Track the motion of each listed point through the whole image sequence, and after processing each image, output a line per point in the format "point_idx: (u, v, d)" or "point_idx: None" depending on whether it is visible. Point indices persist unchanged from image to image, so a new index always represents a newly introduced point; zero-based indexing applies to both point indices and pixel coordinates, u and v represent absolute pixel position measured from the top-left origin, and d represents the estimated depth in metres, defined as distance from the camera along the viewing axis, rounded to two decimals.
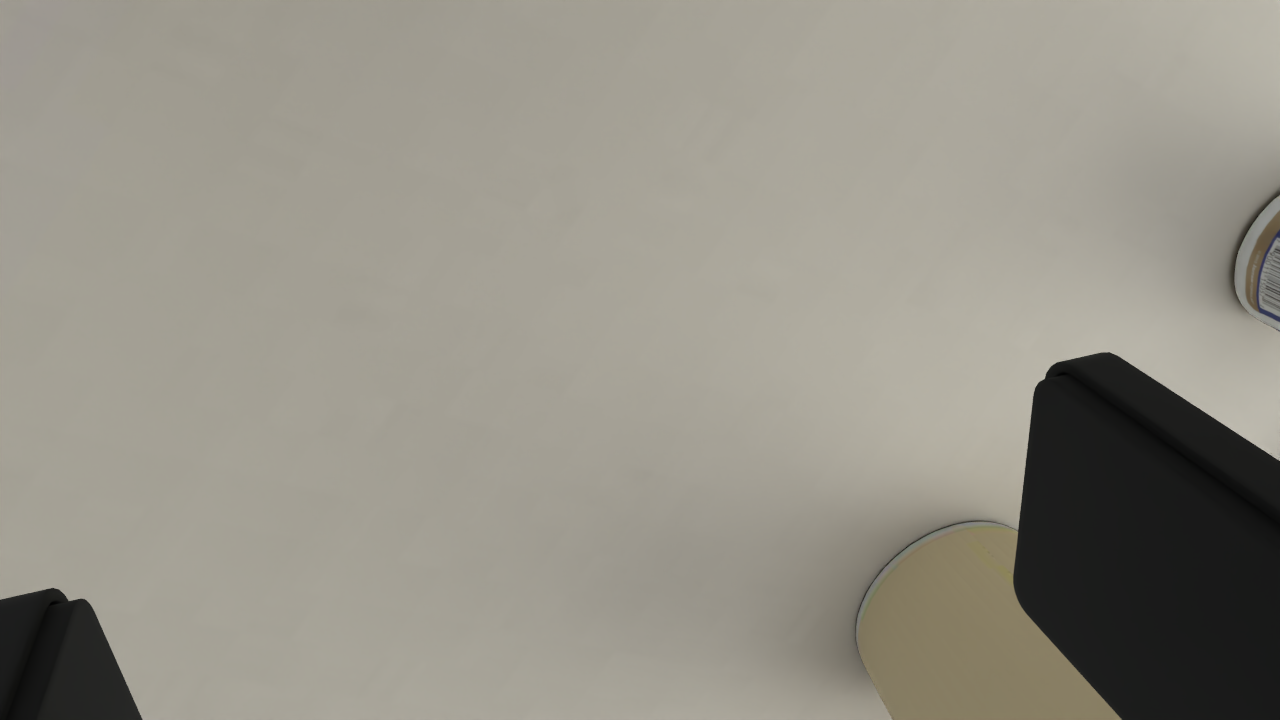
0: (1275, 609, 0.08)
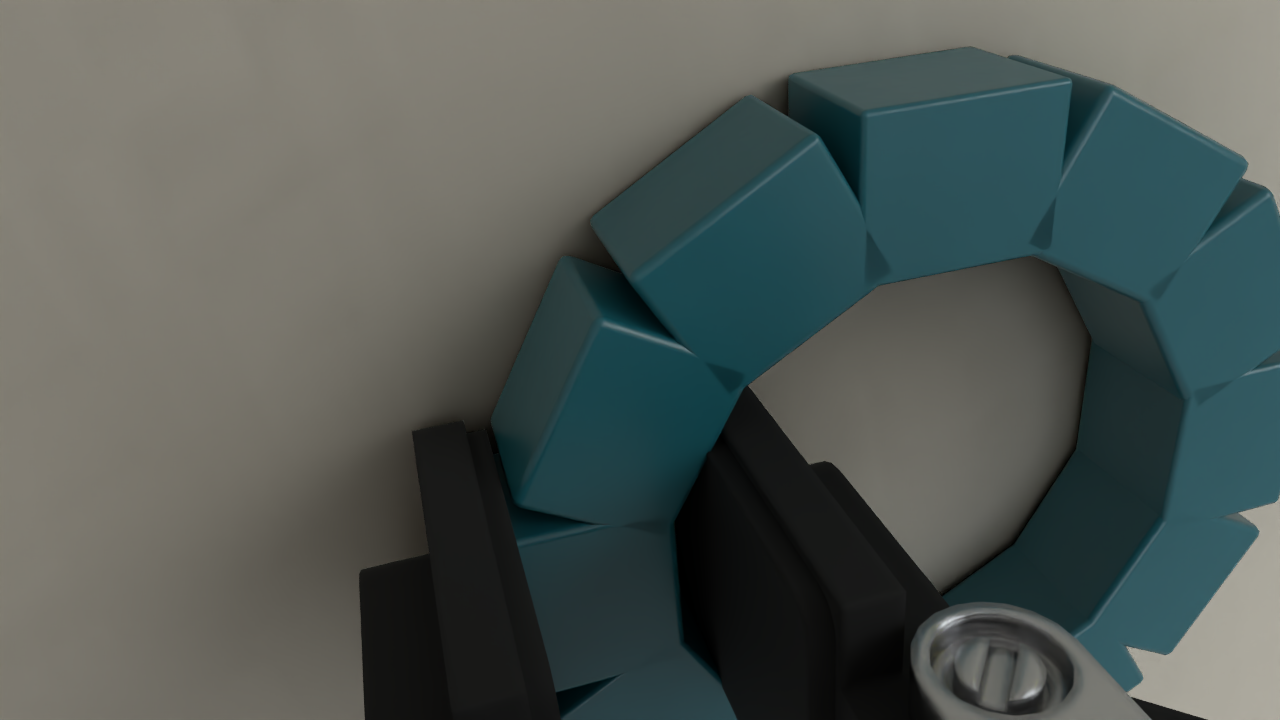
0: (777, 611, 0.08)
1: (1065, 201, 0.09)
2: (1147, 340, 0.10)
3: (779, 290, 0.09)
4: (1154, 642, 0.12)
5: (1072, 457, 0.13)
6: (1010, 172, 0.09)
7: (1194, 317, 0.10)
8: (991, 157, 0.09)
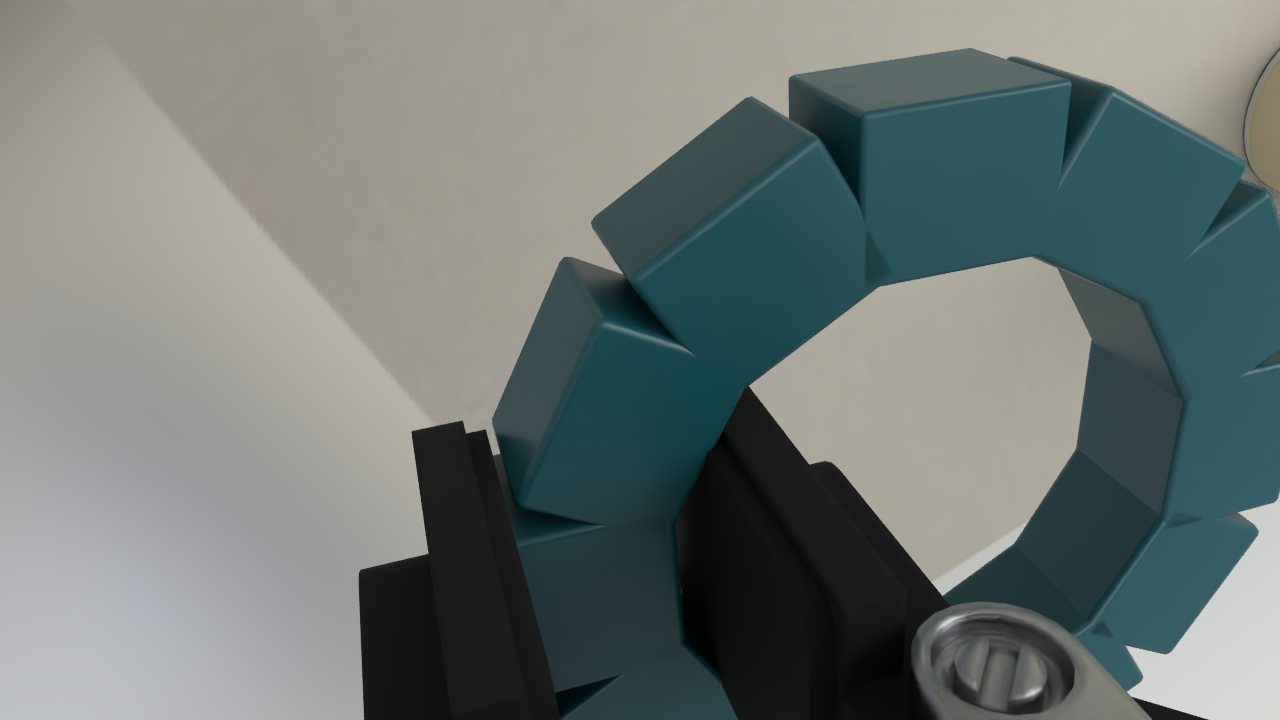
0: (777, 610, 0.08)
1: (1064, 202, 0.09)
2: (1147, 341, 0.10)
3: (779, 291, 0.09)
4: (1154, 642, 0.12)
5: (1072, 457, 0.13)
6: (1010, 174, 0.09)
7: (1193, 318, 0.10)
8: (991, 159, 0.09)
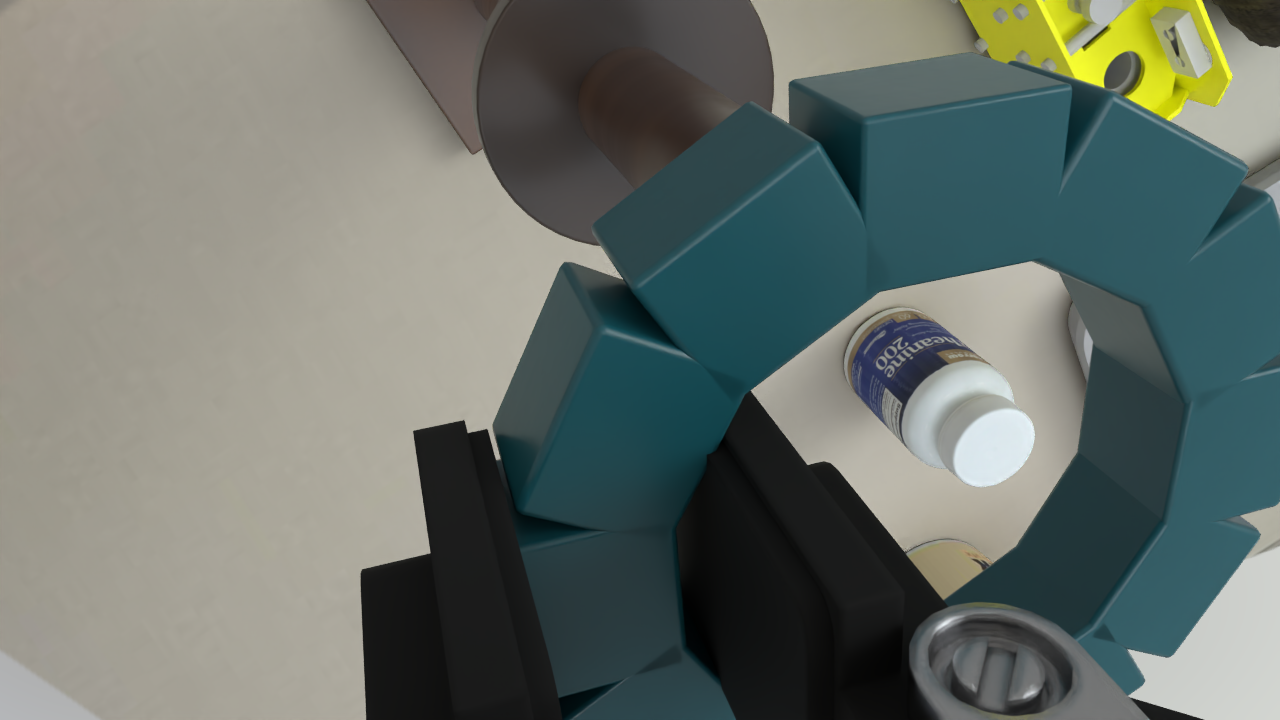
0: (775, 612, 0.08)
1: (1065, 207, 0.09)
2: (1148, 345, 0.10)
3: (780, 297, 0.09)
4: (1155, 645, 0.12)
5: (1073, 460, 0.13)
6: (1010, 178, 0.09)
7: (1195, 322, 0.10)
8: (991, 163, 0.09)
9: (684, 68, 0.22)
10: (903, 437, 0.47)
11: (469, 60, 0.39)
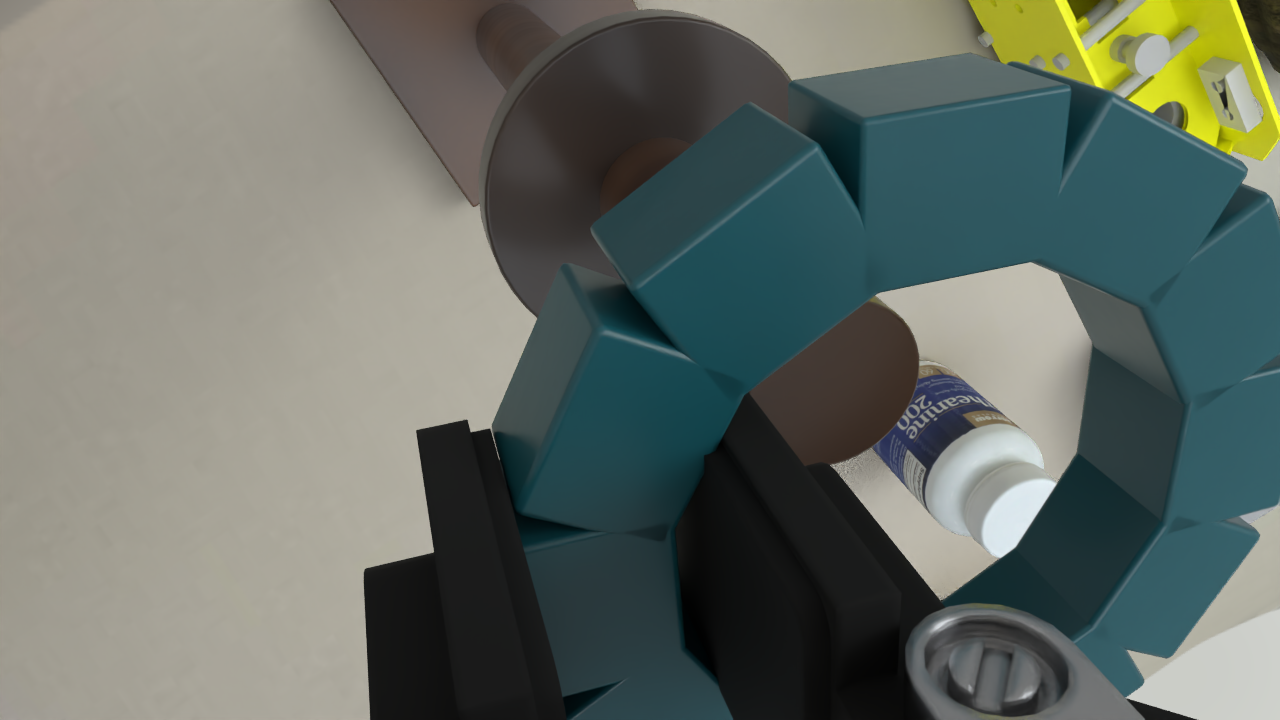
0: (772, 612, 0.08)
1: (1064, 208, 0.09)
2: (1148, 345, 0.10)
3: (779, 298, 0.09)
4: (1155, 646, 0.12)
5: (1073, 461, 0.13)
6: (1009, 179, 0.09)
7: (1194, 322, 0.10)
8: (990, 164, 0.09)
9: None
10: (926, 503, 0.44)
11: (471, 108, 0.37)
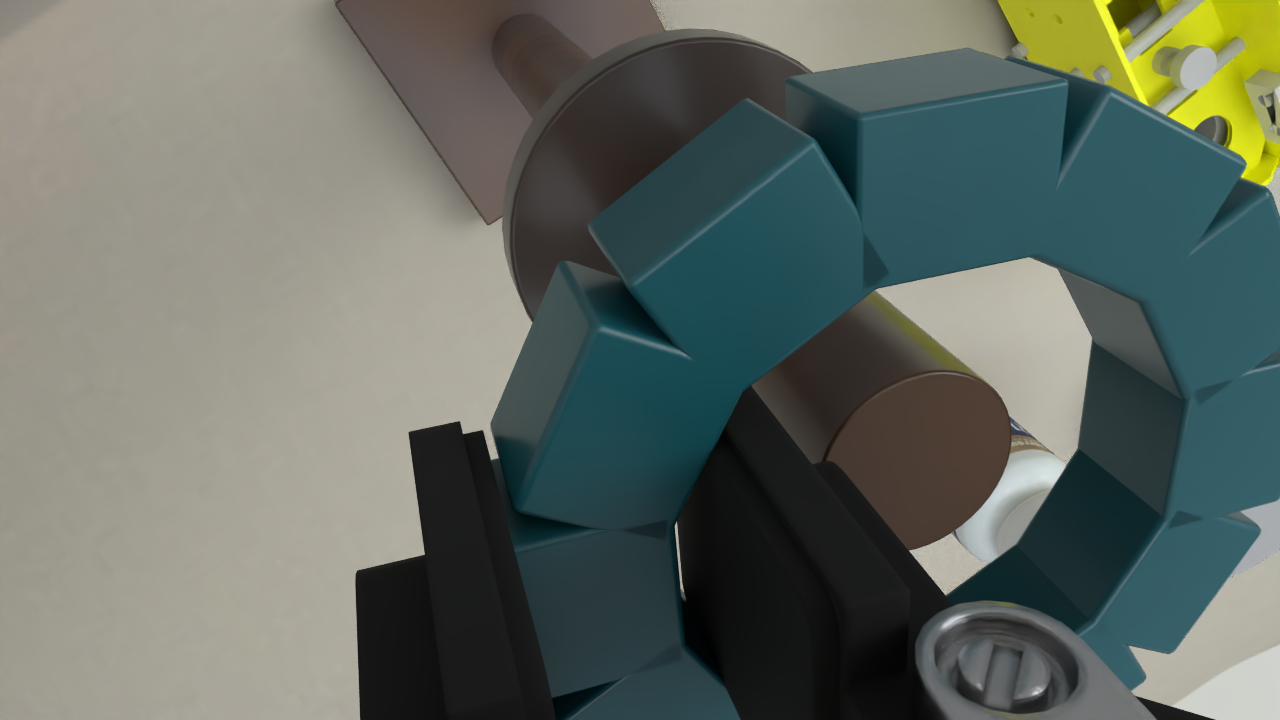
0: (780, 610, 0.08)
1: (1063, 202, 0.09)
2: (1147, 340, 0.10)
3: (777, 294, 0.09)
4: (1157, 641, 0.12)
5: (1073, 457, 0.13)
6: (1007, 174, 0.09)
7: (1194, 317, 0.10)
8: (988, 159, 0.09)
9: None
10: (956, 531, 0.42)
11: (486, 123, 0.35)
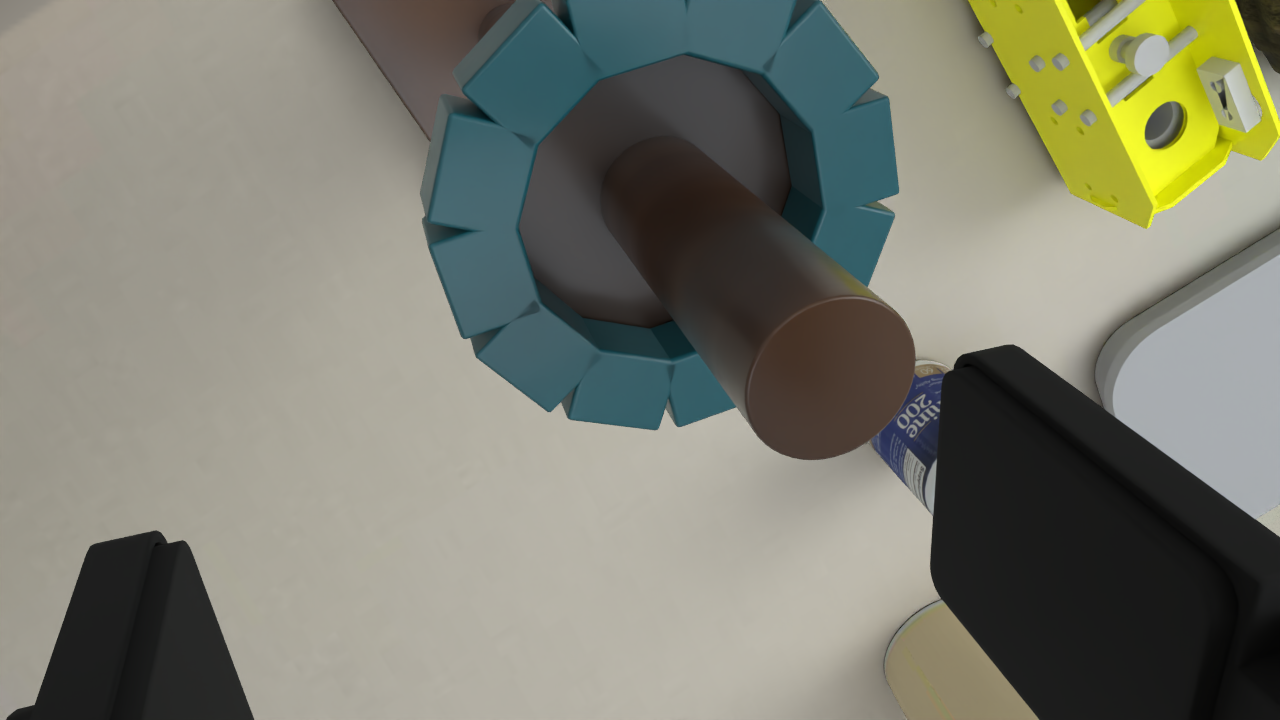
0: (1144, 589, 0.08)
1: (693, 21, 0.17)
2: (779, 99, 0.18)
3: (543, 88, 0.17)
4: None
5: None
6: (655, 9, 0.17)
7: (797, 80, 0.18)
8: (642, 3, 0.17)
9: (719, 159, 0.20)
10: (926, 502, 0.44)
11: None
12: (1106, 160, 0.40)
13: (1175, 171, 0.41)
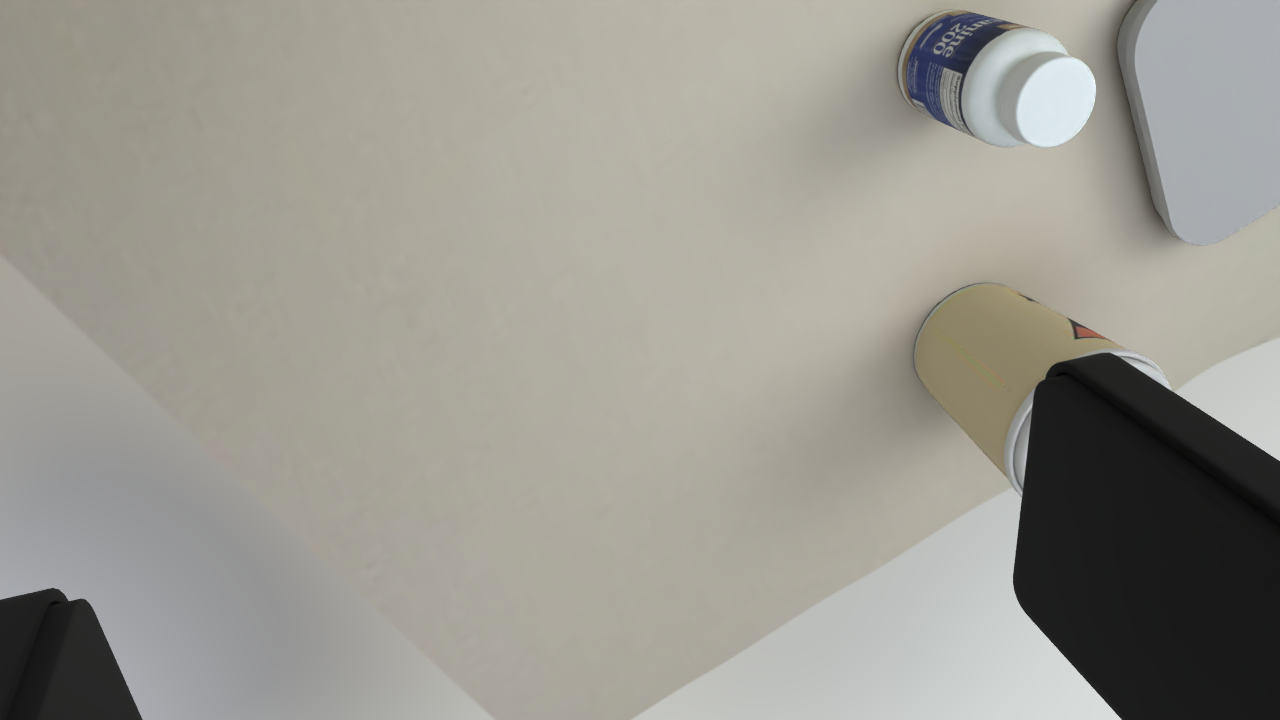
0: (1275, 608, 0.08)
1: None
2: None
3: None
4: None
5: None
6: None
7: None
8: None
9: None
10: (962, 110, 0.47)
11: None
12: None
13: None
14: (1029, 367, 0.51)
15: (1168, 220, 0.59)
